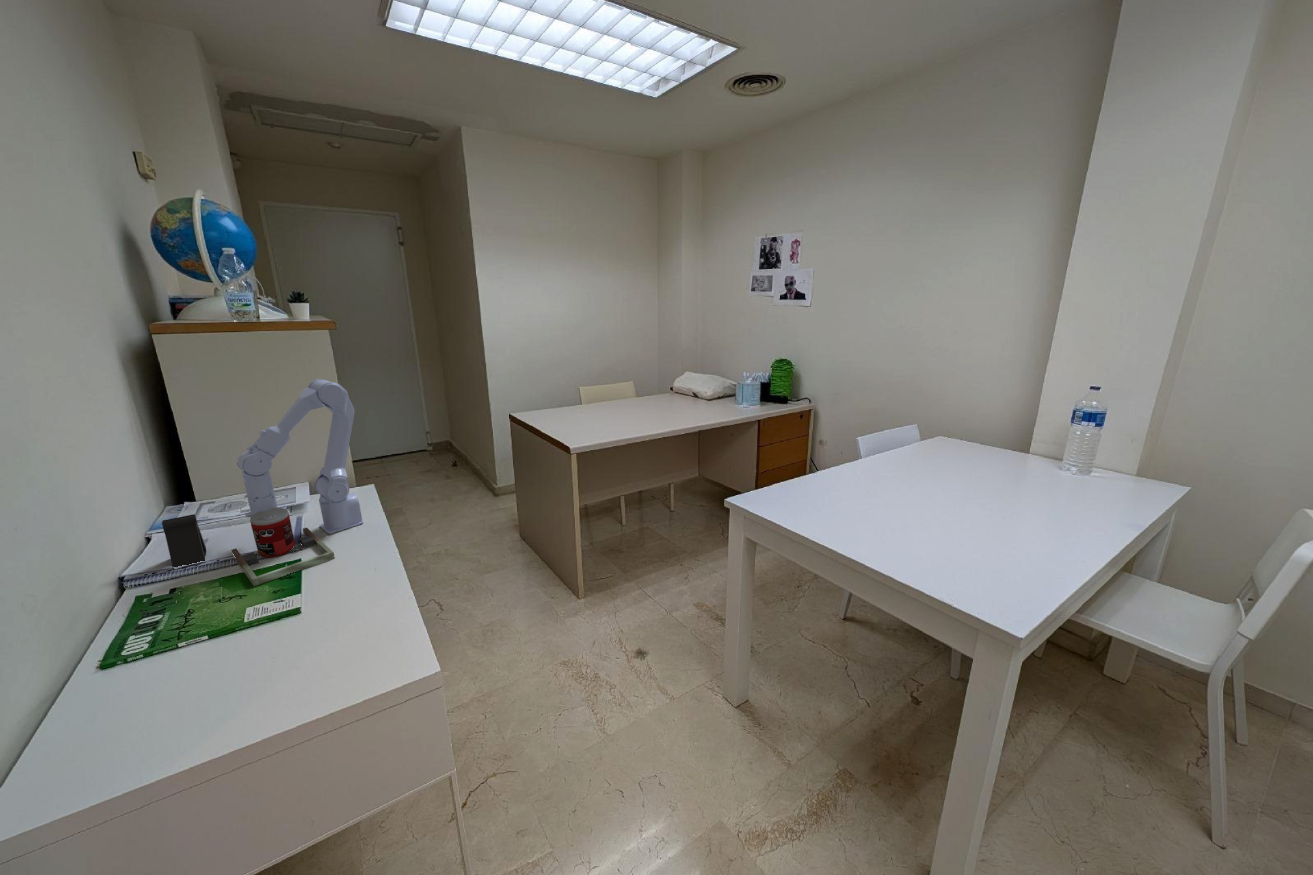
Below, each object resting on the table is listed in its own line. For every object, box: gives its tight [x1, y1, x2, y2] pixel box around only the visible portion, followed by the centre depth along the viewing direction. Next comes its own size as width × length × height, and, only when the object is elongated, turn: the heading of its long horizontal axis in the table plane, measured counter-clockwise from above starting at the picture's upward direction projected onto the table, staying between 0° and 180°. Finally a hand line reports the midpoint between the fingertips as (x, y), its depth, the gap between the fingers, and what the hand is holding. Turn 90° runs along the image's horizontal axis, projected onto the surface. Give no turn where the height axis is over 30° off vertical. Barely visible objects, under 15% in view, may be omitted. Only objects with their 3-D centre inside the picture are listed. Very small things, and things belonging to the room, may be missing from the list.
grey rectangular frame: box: [231, 527, 336, 587], centre depth 127 cm, size 17×22×2 cm
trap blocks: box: [241, 535, 316, 567], centre depth 129 cm, size 15×4×2 cm, turn 141°
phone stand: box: [161, 513, 207, 568], centre depth 124 cm, size 9×6×12 cm, turn 40°
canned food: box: [249, 507, 296, 559], centre depth 128 cm, size 8×8×11 cm
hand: (271, 540), depth 132 cm, fingers closed, pressing on canned food
